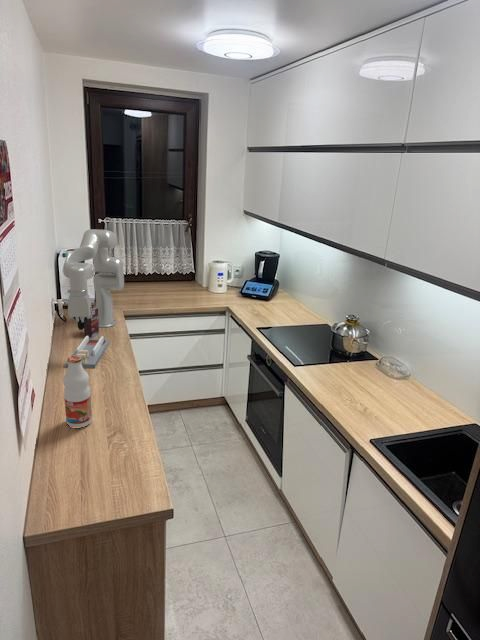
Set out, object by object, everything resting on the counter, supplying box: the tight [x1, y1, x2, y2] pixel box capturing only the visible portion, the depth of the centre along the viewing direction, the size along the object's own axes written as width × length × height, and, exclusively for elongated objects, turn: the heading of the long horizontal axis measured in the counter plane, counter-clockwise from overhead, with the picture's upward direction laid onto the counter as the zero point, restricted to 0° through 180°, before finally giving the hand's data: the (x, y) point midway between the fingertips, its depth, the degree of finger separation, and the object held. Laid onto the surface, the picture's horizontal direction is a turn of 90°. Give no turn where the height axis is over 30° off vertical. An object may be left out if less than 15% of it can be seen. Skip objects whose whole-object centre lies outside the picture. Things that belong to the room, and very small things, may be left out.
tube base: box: [65, 335, 111, 369], centre depth 226 cm, size 31×14×5 cm, turn 3°
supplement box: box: [83, 306, 100, 339], centre depth 247 cm, size 9×5×16 cm, turn 168°
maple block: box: [76, 350, 89, 364], centre depth 215 cm, size 6×4×4 cm
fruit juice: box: [62, 354, 93, 427], centre depth 166 cm, size 9×9×28 cm
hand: (81, 329), depth 212 cm, fingers closed
